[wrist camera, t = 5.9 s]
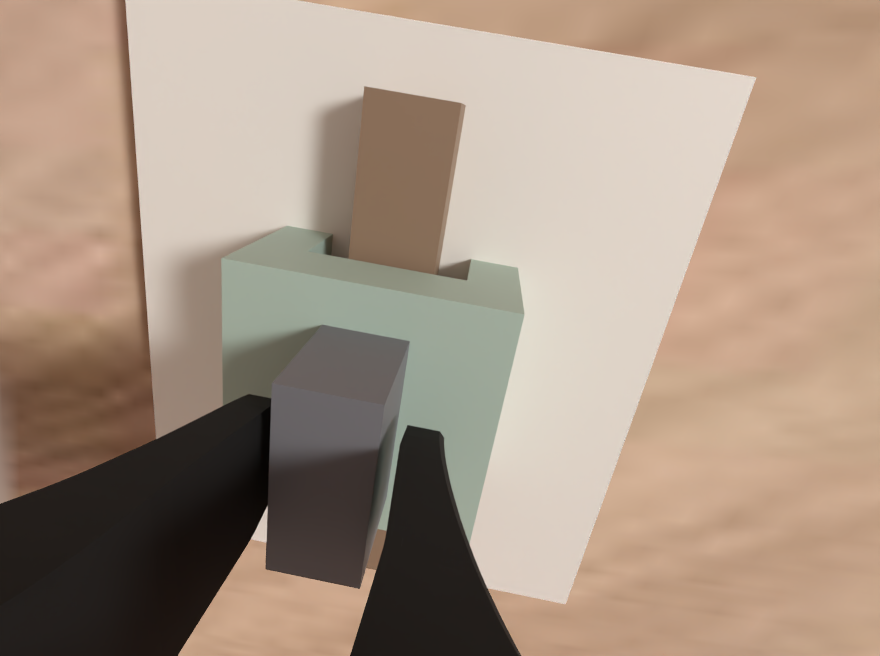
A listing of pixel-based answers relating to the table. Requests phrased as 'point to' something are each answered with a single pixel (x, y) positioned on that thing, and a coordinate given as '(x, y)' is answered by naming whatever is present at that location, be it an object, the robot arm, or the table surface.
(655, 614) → the table surface
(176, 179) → the board
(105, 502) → the robot arm
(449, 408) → the sage slotted block
